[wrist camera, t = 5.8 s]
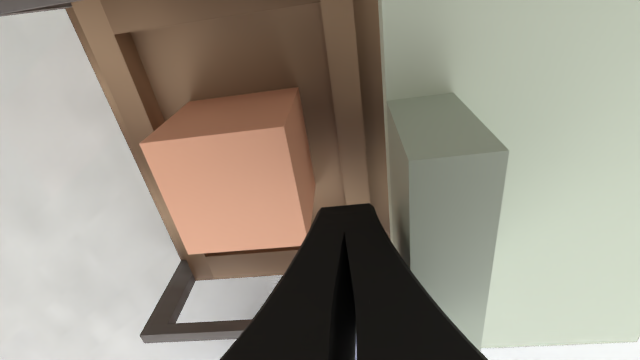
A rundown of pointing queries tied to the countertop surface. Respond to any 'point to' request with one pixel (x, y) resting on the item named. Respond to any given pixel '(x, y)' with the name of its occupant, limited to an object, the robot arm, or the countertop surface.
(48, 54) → the countertop surface
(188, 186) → the block
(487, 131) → the lid
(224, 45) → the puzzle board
